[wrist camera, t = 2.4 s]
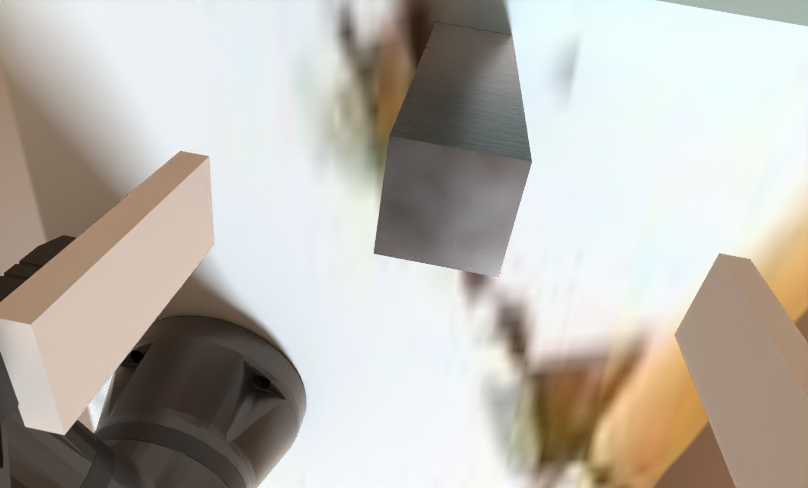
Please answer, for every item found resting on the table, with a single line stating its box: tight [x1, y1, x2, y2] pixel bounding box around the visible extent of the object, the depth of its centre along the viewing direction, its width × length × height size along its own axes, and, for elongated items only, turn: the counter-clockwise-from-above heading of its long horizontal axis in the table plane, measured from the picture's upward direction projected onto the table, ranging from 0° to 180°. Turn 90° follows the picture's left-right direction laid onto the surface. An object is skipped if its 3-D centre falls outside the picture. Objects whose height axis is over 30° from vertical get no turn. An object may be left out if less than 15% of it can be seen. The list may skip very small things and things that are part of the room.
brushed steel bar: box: [374, 22, 532, 277], centre depth 23 cm, size 4×4×16 cm
